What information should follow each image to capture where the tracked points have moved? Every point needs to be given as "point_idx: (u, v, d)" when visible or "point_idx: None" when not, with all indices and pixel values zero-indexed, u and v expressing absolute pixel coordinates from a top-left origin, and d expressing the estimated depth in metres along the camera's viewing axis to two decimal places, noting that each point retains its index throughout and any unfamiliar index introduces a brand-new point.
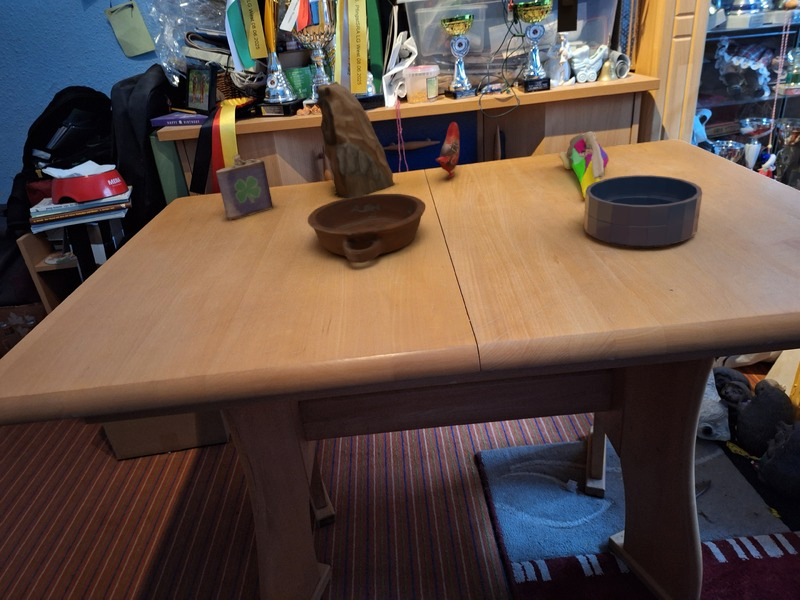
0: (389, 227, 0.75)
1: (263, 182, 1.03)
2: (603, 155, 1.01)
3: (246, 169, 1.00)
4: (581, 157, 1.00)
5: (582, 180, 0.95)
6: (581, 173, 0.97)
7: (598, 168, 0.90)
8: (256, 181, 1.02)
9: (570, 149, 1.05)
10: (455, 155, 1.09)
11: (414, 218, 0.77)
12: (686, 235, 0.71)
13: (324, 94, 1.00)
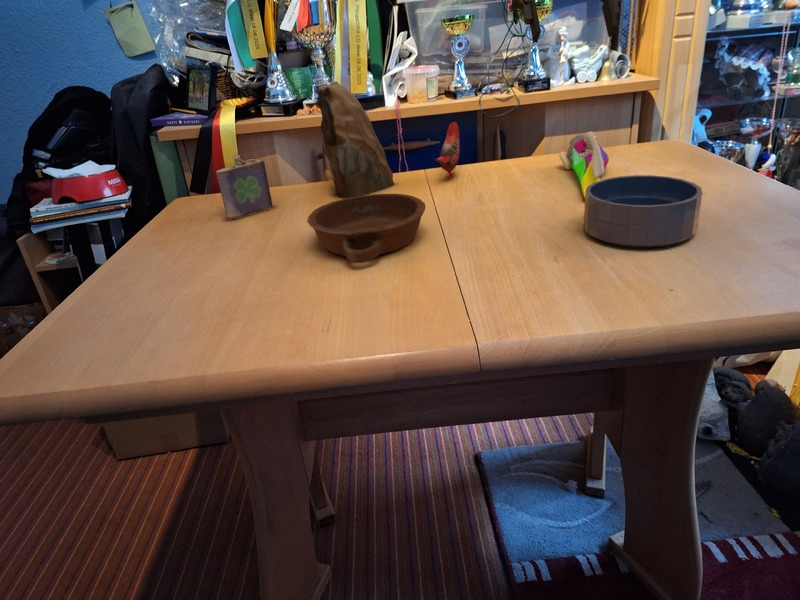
0: (389, 227, 0.75)
1: (263, 181, 1.03)
2: (603, 155, 1.01)
3: (246, 169, 1.00)
4: (581, 157, 1.00)
5: (582, 180, 0.95)
6: (581, 173, 0.97)
7: (598, 168, 0.90)
8: (256, 181, 1.02)
9: (570, 149, 1.05)
10: (455, 155, 1.09)
11: (414, 218, 0.77)
12: (686, 235, 0.71)
13: (324, 94, 1.00)
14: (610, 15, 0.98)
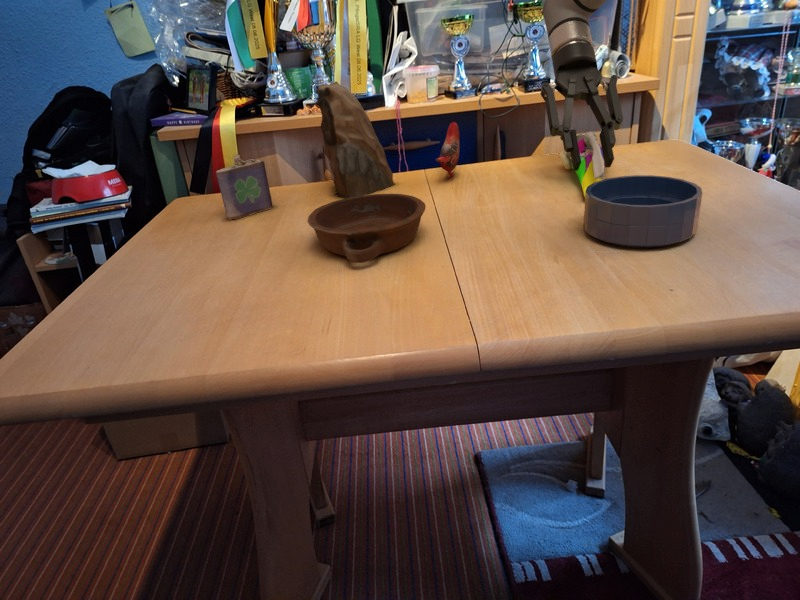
0: (389, 227, 0.75)
1: (263, 182, 1.03)
2: None
3: (246, 169, 1.00)
4: (581, 157, 1.00)
5: (583, 180, 0.95)
6: (581, 173, 0.97)
7: (599, 168, 0.90)
8: (256, 181, 1.02)
9: None
10: (455, 155, 1.09)
11: (414, 218, 0.77)
12: (686, 235, 0.71)
13: (324, 94, 1.00)
14: (606, 147, 0.96)
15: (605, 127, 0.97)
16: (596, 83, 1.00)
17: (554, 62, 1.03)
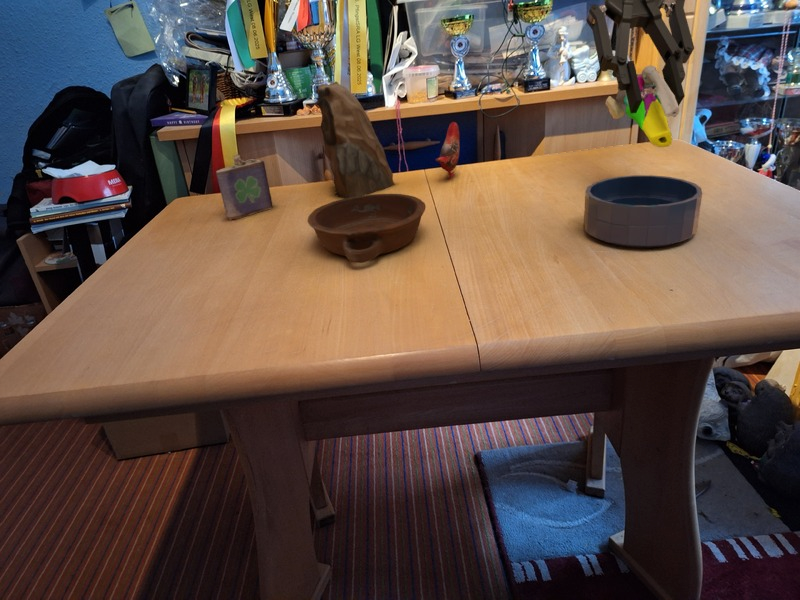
0: (389, 227, 0.75)
1: (263, 182, 1.03)
2: None
3: (246, 169, 1.00)
4: None
5: (644, 123, 0.75)
6: (641, 116, 0.77)
7: (670, 104, 0.69)
8: (256, 181, 1.02)
9: (621, 92, 0.85)
10: (455, 155, 1.09)
11: (414, 218, 0.77)
12: (686, 235, 0.71)
13: (324, 94, 1.00)
14: (673, 82, 0.76)
15: (672, 58, 0.76)
16: (658, 5, 0.80)
17: None
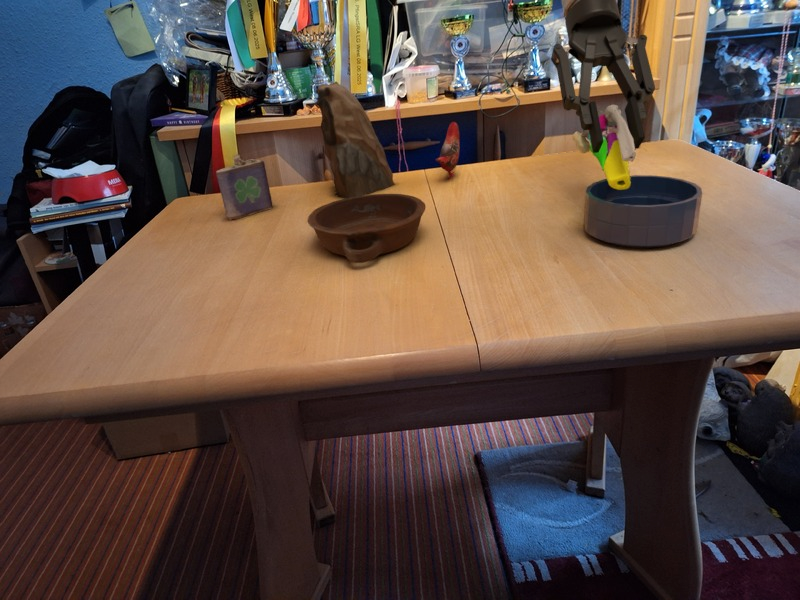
0: (389, 227, 0.75)
1: (263, 182, 1.03)
2: None
3: (246, 169, 1.00)
4: None
5: (605, 164, 0.76)
6: (603, 156, 0.77)
7: (628, 147, 0.70)
8: (256, 181, 1.02)
9: None
10: (455, 155, 1.09)
11: (414, 218, 0.77)
12: (686, 235, 0.71)
13: (324, 94, 1.00)
14: (634, 123, 0.77)
15: (633, 98, 0.77)
16: (620, 45, 0.81)
17: (568, 20, 0.83)
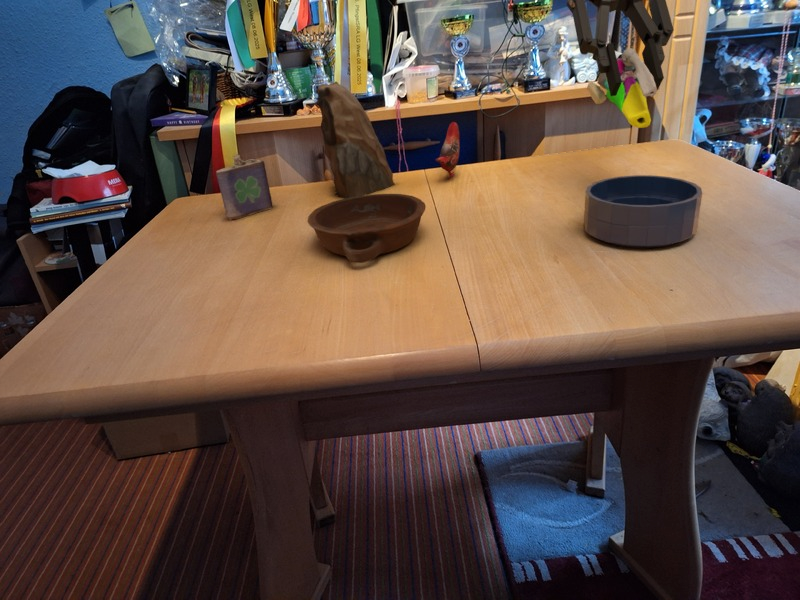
0: (389, 227, 0.75)
1: (263, 182, 1.03)
2: None
3: (246, 169, 1.00)
4: None
5: (623, 105, 0.74)
6: (621, 98, 0.76)
7: (648, 84, 0.69)
8: (256, 181, 1.02)
9: (602, 76, 0.85)
10: (455, 155, 1.09)
11: (414, 218, 0.77)
12: (686, 235, 0.71)
13: (324, 94, 1.00)
14: (653, 64, 0.75)
15: (651, 40, 0.76)
16: None
17: None
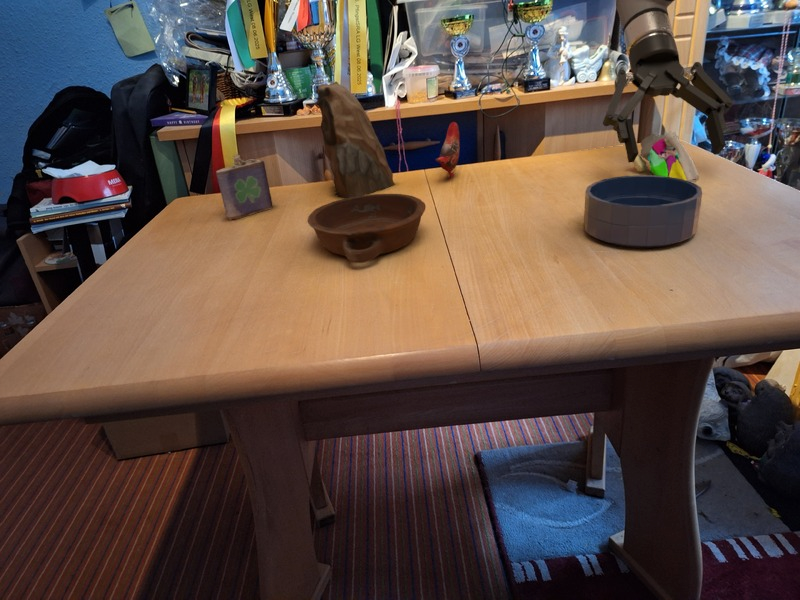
0: (389, 227, 0.75)
1: (263, 182, 1.03)
2: None
3: (246, 169, 1.00)
4: (661, 159, 0.94)
5: None
6: (665, 176, 0.91)
7: (691, 171, 0.83)
8: (256, 181, 1.02)
9: (645, 150, 0.99)
10: (455, 155, 1.09)
11: (414, 218, 0.77)
12: (686, 235, 0.71)
13: (324, 94, 1.00)
14: (716, 132, 0.90)
15: (714, 111, 0.91)
16: None
17: (632, 55, 0.96)
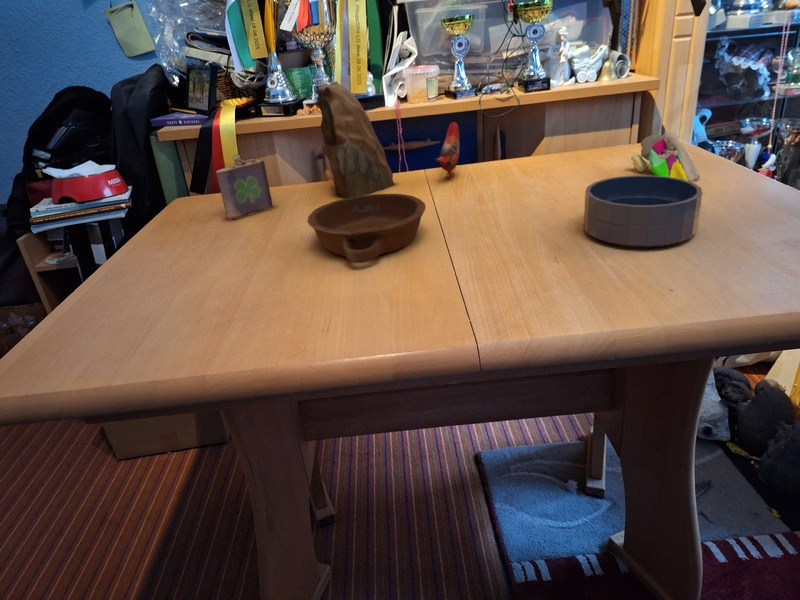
0: (389, 227, 0.75)
1: (263, 181, 1.03)
2: None
3: (246, 169, 1.00)
4: (662, 159, 0.94)
5: None
6: (665, 176, 0.91)
7: (692, 171, 0.83)
8: (256, 181, 1.02)
9: (645, 150, 0.99)
10: (455, 155, 1.09)
11: (414, 218, 0.77)
12: (686, 235, 0.71)
13: (324, 94, 1.00)
14: None
15: None
16: None
17: None
